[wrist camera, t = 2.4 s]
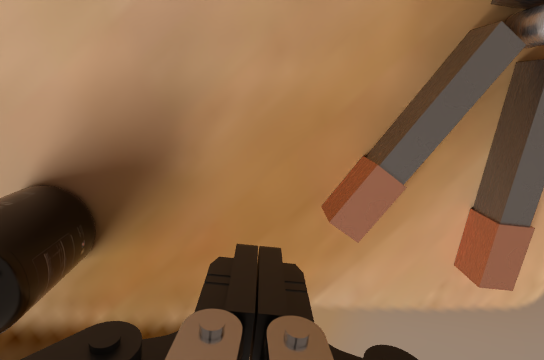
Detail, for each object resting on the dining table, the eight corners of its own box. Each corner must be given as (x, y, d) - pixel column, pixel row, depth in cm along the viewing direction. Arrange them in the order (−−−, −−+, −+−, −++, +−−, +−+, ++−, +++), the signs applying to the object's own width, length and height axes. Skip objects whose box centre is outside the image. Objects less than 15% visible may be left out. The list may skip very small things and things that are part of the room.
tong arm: (468, 28, 22) (501, 17, 19) (494, 53, 22) (531, 46, 19) (321, 206, 25) (329, 222, 22) (346, 224, 25) (358, 242, 22)
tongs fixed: (499, -30, 21) (552, -58, 17) (575, -19, 21) (645, -44, 17) (422, 261, 26) (449, 290, 22) (483, 268, 27) (520, 297, 23)
